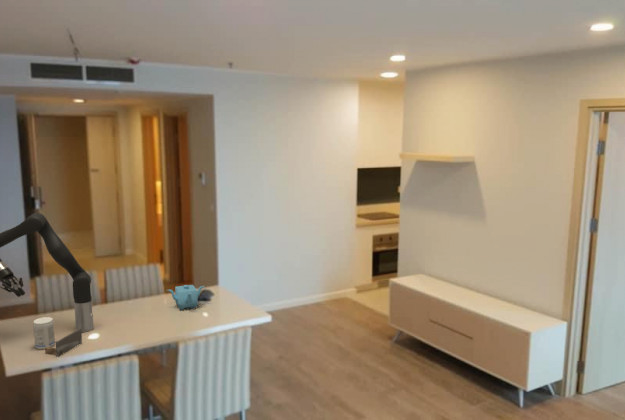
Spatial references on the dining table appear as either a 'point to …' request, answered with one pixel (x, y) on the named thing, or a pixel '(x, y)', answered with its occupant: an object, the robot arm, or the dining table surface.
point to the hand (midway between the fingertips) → (21, 295)
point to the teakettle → (186, 296)
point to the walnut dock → (66, 343)
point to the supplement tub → (44, 332)
